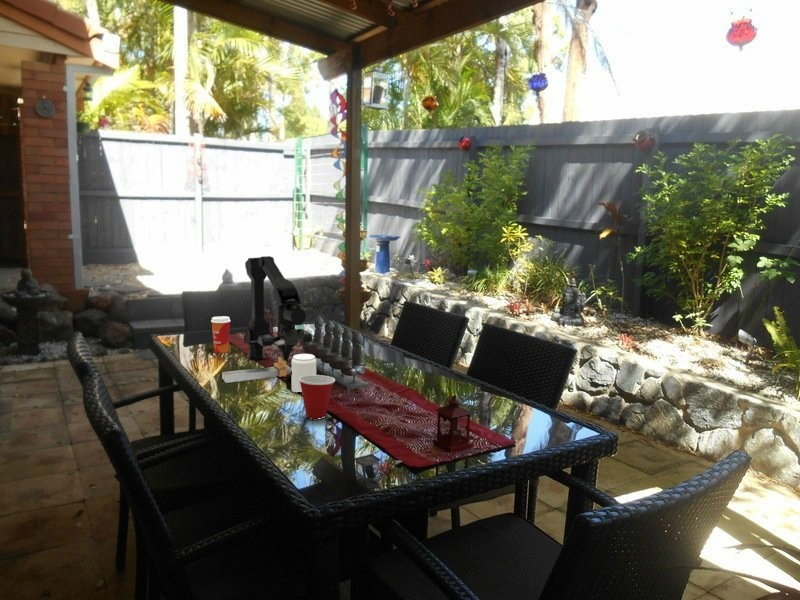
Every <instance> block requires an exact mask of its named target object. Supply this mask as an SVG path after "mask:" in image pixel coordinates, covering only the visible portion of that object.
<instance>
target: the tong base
mask: <svg viewBox="0 0 800 600" xmlns="http://www.w3.org/2000/svg"><path fill="white" fill-rule="evenodd" d="M291 371H292V367H290V366H289V365H288V364H287V374H288V373H290V372H291ZM276 376H279V377H280V370H279V369H278V368H276V369H267V370H258V371H249V372H240V373H231V374H224V380H223V381H224V383H225V384H228V383H237V382H246V381H251V380H252V381H253V380H262V379H269V378H277V377H276Z"/></svg>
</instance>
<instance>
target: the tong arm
mask: <svg viewBox="0 0 800 600" xmlns="http://www.w3.org/2000/svg"><path fill="white" fill-rule="evenodd" d="M276 368H277V367H274V366H271V367H270V366H269V367H261V368H250V369H249V368H248V369H242V370H231V371H222V373H221V374H222V375H221V376H222V380H223V381H224V374H231V373H240V372H249V371H258V370H267V369H276Z"/></svg>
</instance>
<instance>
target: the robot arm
mask: <svg viewBox="0 0 800 600" xmlns="http://www.w3.org/2000/svg"><path fill="white" fill-rule="evenodd" d="M244 267H245V271H246V272H245V273H246V275H247V277H248V278H249V279H250V289H251V290H250V291H251V293H250V294H251V295H250V296H251V297H250V299H251V318H250V320H249V322H248V323H247V327H246V328H247V329H246V331H245V333H244V336H242V337H243V338H242V339H243V343H244V344H246V345H248V354H246V356H245V357H246V358H247V359H249V360H250V361H256V360H265V359H266V360H267V358H268V357H267V356H266V355H265V347H270V346H273V345H274V346H276V347H277V348H278V350H279V353H280V354H281V358H282V359H284V360H285V361H286V362H288V360H289V358H290V354H291V351H292V350H293V348H294V347H296V346H298V344H299V342H300V341H301V340H302V342H304V343H310V342H311V343H312V342H313V334H312V333H310V332H309V331H307V330H304V329H303V328H297V329H296V325H301V324H303V323H304V322H305V321H306V318H307V314H306V311H305V310H304V309H302V306H301V305H302V302H301V301H302V299H301V297H300V293H298V289H297V288H296V286H295V285H294V283H293V282H292V281H291V280H288V279H286V278H285V277H284V275H283V274H282V272H281V270H280V269H279V267H278V266H277V264H276V262H275V259H274V257H273V256H271V255H269V256H265V255H264V256H260V257H249V258H248V259H247V260H246V261H245V262H244ZM266 278H268V280H269V282H270V283H271V285H272V287H273V289H272V294H273V296H274V299H275V301H276V302H275V306H276V310H277V312H276V313H277V317H276V318H277V320H276V322H275V323H276V326H277V328H276V329H277V331H276V336H272V335H271V330H270V322H268V321H267V319H266V318H265V280H266Z"/></svg>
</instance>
